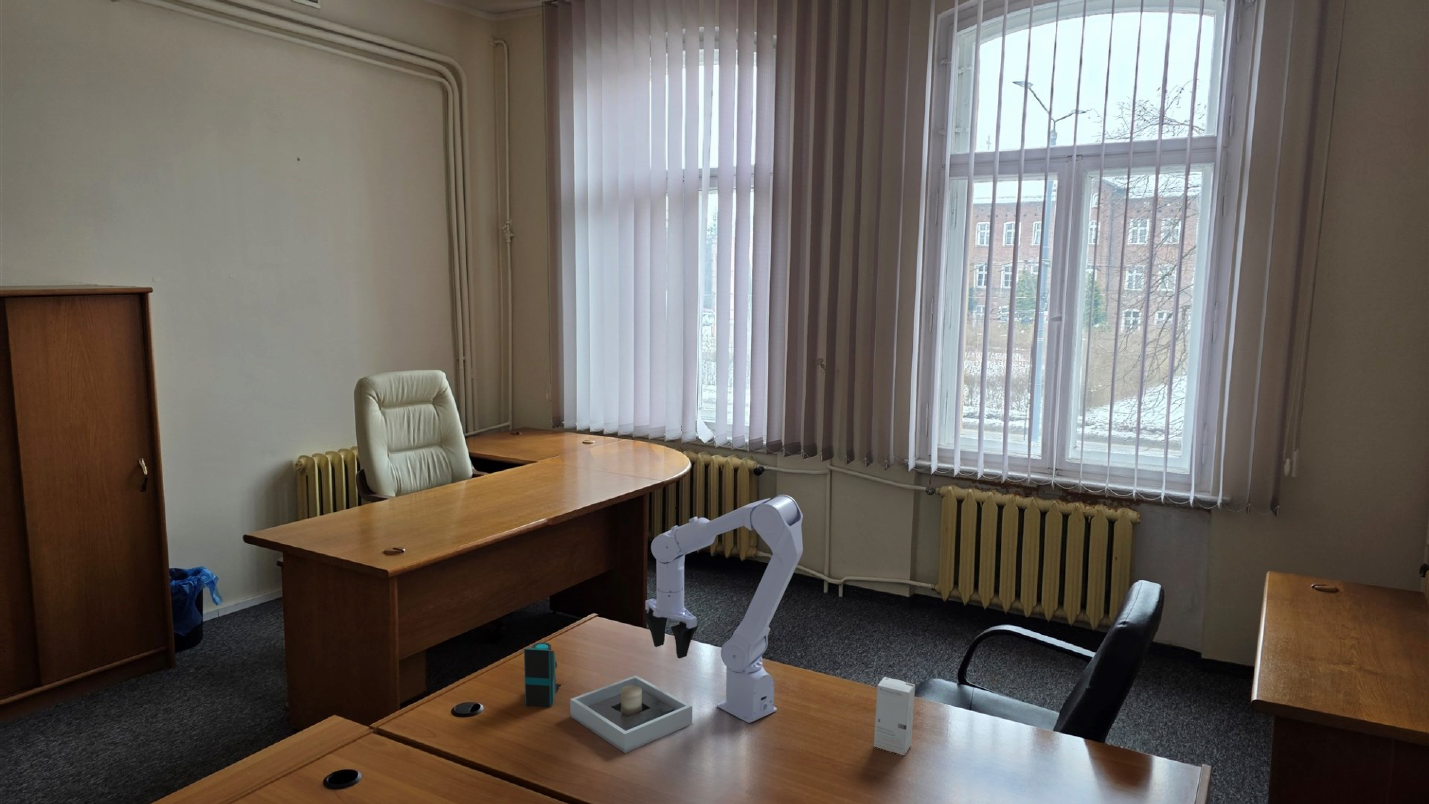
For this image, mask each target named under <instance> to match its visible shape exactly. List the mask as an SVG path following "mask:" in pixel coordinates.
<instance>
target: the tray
mask: <svg viewBox="0 0 1429 804" xmlns="http://www.w3.org/2000/svg"><path fill="white" fill-rule="evenodd" d="M629 685H635V686H639V687H641V689H642V691H644V692H646V693H648V694H649V695H651V696H653V697H655V698H656V699H658V700H660V701H662V702H663V703H665V704H667V705H669V706H671V707H672V708H674V711H673V712H670V713H668V714H665V715H663V716H661V717H658V718H656V719H653V720H651V721H649V722H646V723H644V724H641V725H639V726H637V727H634V728H632V729H629V730H627V731H625V730H623V729H622V728H620V727H619V726H617V725H616V724H614V723H612V722H611V721H609V720H608V719H606V718H605V717H603V716H601V715H600V714H598V713H597V712H595V711H594V710H592V709H590V708H589V707H587V706H589V705H592V704H595V703H597V702H600V701H603V700H605V699H608V698H611V697H613V696H616V695H618V694H621V689H622V688H623V687H625V686H629ZM569 703H570V705H569V706H570V710H569V711H570V718H572V719H573V720H575V721H577V723H579V722H580V723H579V724H581V725H582V726H584V727H585V728H587V729H588V730H590V731H591V732H592V733H594V734H596V735H597V736H599V737H600V738H602V739H603V740H605V741H607V743H609V744H610V745H612V746H614V747H615V748H616V749H618V750H620V751H621V752H623V753H624V754H627V753H628V752H631V751H633V750H635V749H637V748H640V747H642V746H644V745H646V744H649V743H651V742H654V741H656V740H659V739H661V738H663V737H665V736H667V735H670V734H672V733H674V732H676V731H679V730H682V729H683V728H685V727H688V726H690V725H693V705H691V704H689V703H688V702H686V701H684V700H682V699H680V698H679V697H676V695H673V694H672V693H669V692H667V691H666V690H664V689H663V688H661V687H659V686H657V685H654V684H653V683H651V682H649V681H647V680H645V679H643V678H642V677H641V676H638V675H633V676H630V677H627V678H624V679H622V680H619V681H616V682H614V683H610V684H608V685H605V686H602V687H600V688H597V689H595V690H592V691H589V692H586V693H583V694H580V695H577V696H575V697H571V698H570V700H569Z"/></svg>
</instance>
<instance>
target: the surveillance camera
mask: <svg viewBox="0 0 1429 804" xmlns="http://www.w3.org/2000/svg"><path fill="white" fill-rule="evenodd" d="M523 661H524V662H523V664H524V665H523V666H524V667H523V668H524V669H523V671H524V705H525V706H526V707H531V708H547V709H548V708H552V706H553V705H554V702H555V700H556V699H555V697H556V696H555V694H557V693H558V691H559V690H560V688H561V687H562V684H561V683H556V682H557V678H556V677H557V676H556V674H557V672H556V671H557V667H558V663H557V661H556V653H555V651H554V650H552V644H551V643H549V642H538V643H534V644H532V645H531V647H525V648H523ZM560 686H561V687H560ZM559 687H560V688H559Z"/></svg>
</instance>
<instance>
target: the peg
mask: <svg viewBox="0 0 1429 804" xmlns="http://www.w3.org/2000/svg"><path fill="white" fill-rule="evenodd" d="M640 712H642V689H641V687H639V686H635V685H629V686H625V687H623V688H622V689H621V714H623V715H625V716H626V717H630V716H632V715H635V714H637V713H640Z"/></svg>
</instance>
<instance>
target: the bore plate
mask: <svg viewBox="0 0 1429 804" xmlns="http://www.w3.org/2000/svg"><path fill="white" fill-rule="evenodd" d="M587 707H589V708H590V709H592V710H594V711H595V712H597V713H598V714H600V715H601V716H603V717H605V718H606V719H608V720H609V721H611V722H612V723H614V724H616V725H617V726H619V727H620V728H622V729H623V730H625V731H627V730H629V729H632V728H634V727H637V726H639V725H641V724H644V723H646V722H649V721H651V720H653V719H656V718H658V717H661V716H663V715H665V714H668V713H670V712H673V711H674V708H672V707H671V706H669V705H667V704H665V703H663V702H662V701H660V700H658V699H656V698H655V697H653V696H651V695H649V694H648V693H646V692H644V691H642V712H640V713H637V714H635V715H632V716H630V717H626V716H625V715H623V714H621V694H618V695H616V696H613V697H611V698H608V699H605V700H603V701H600V702H597V703H595V704H592V705H589V706H587Z"/></svg>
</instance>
